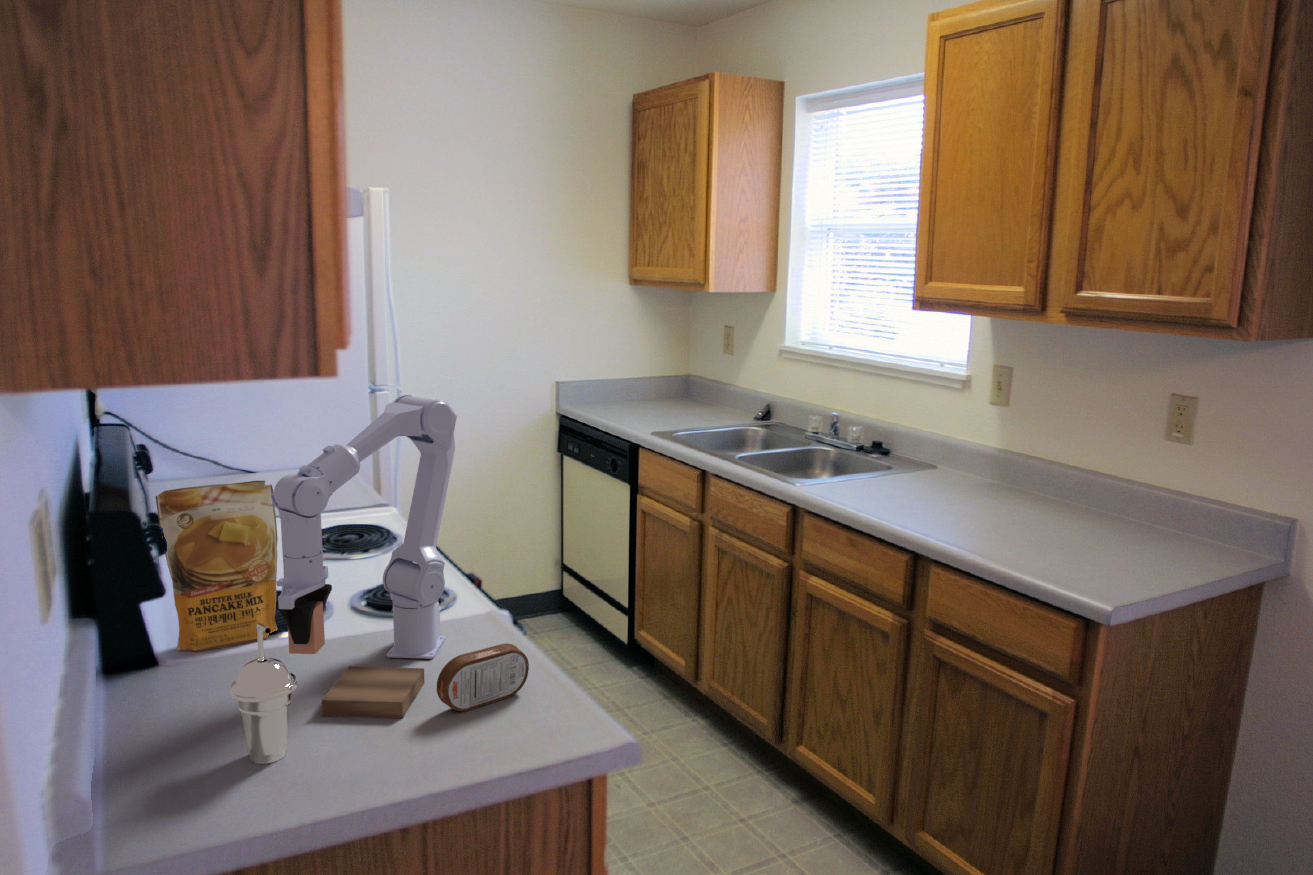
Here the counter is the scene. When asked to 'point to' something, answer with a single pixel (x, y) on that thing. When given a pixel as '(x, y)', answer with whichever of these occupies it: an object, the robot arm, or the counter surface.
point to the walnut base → (373, 692)
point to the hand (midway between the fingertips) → (307, 637)
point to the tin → (482, 677)
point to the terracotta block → (311, 634)
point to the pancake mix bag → (221, 561)
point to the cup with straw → (264, 703)
